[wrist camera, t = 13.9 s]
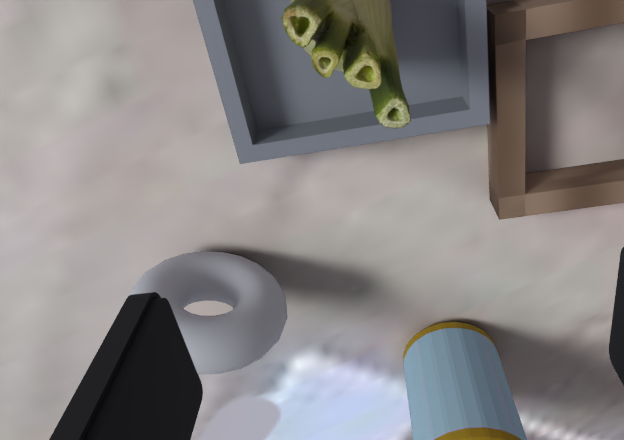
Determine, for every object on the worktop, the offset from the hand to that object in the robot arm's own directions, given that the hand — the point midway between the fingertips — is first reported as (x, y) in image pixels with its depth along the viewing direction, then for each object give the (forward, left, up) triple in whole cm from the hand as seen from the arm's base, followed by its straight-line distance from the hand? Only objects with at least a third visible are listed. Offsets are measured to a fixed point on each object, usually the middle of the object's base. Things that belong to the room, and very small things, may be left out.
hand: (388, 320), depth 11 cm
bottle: (-3, +24, -23) cm, 33 cm away
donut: (+12, +13, -23) cm, 29 cm away
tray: (+1, -3, -23) cm, 23 cm away
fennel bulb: (+1, -3, -22) cm, 22 cm away
